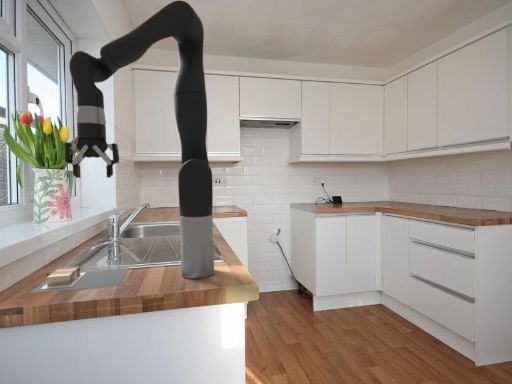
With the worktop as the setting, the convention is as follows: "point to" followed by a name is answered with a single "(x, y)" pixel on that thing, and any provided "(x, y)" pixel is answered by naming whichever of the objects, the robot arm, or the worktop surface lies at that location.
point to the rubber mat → (88, 280)
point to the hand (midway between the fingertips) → (93, 177)
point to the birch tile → (63, 276)
